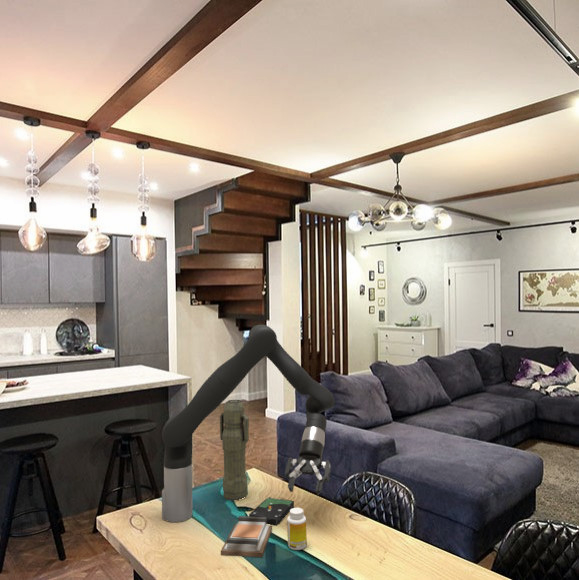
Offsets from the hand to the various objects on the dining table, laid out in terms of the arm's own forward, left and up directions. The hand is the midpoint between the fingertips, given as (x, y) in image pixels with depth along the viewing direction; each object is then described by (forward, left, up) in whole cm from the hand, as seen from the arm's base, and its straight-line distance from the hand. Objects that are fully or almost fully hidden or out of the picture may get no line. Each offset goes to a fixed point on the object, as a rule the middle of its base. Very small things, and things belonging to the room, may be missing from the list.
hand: (304, 492), depth 143 cm
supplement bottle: (-1, -8, -13) cm, 15 cm away
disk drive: (-12, +12, -13) cm, 22 cm away
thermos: (-28, +25, -13) cm, 40 cm away
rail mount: (-16, -7, -12) cm, 22 cm away
